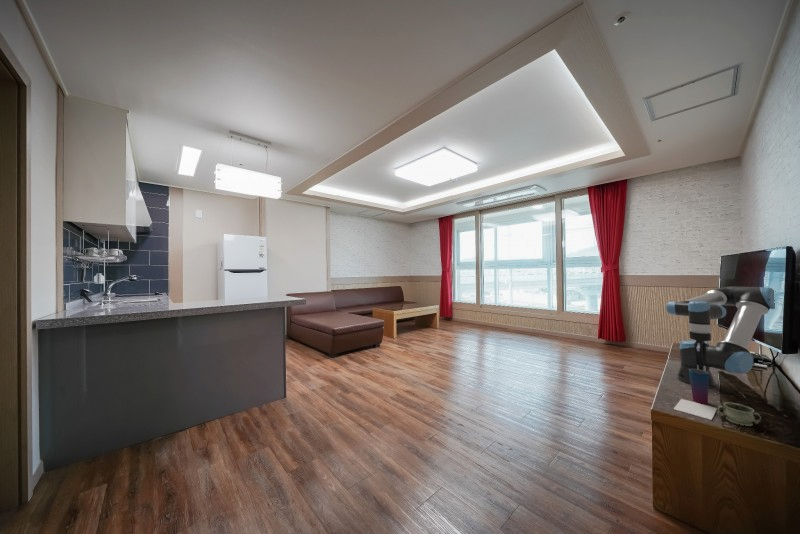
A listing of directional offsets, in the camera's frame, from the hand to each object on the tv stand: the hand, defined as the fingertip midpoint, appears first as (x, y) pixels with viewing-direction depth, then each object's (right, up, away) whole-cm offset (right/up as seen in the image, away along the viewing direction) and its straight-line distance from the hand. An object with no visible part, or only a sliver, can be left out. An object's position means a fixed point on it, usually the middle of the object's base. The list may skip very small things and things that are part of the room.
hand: (701, 378), depth 141 cm
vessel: (-8, -10, -22) cm, 26 cm away
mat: (-16, -10, -12) cm, 22 cm away
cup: (-6, -10, -5) cm, 13 cm away
